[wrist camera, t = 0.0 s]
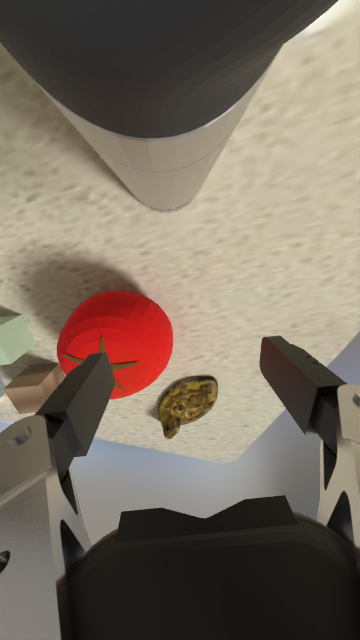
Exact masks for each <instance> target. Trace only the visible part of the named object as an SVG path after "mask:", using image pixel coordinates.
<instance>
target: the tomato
mask: <svg viewBox="0 0 360 640" xmlns="http://www.w3.org/2000/svg"><path fill="white" fill-rule="evenodd" d="M172 348H173V330H172V326H171V322H170V321H169V319H168V317H167V315H166V314H165V312H164V311H163V310H162V309H161V307H160V306H159V305H158V304H156V303H155V302H154V301H152V300H151V299H149V298H147V297H145V296H142V295H139V294H136V293H132V292H126V291H107V292H103V293H99V294H96V295H94V296H92V297H90V298H88V299H87V300H86V301H84V302H83V303H82V304H81V305H79V306H78V307H77V308H76V309H75V310H74V312H73V313H72V315H71V316H70V317H69V319H68V321H67V322H66V324H65V326H64V327H63V329H62V331H61V333H60V336H59V339H58V343H57V357H58V360H59V363H60V366H61V369H62V370H63V372H64V373H65V375H66V376H67V374H68V373H69V372H70V371H71V370H73V369H74V368H75V367H77V366H78V365H81V364H82V363H83V362H84V360H85V359H86V358H87V356H88V355H89V354H93V353H103V352H106V353H107V354H108V357H109V360H110V364H111V367H112V371H113V374H114V379H115V384H114V389H113V392H112V394H111V396H110V399H118V398H123V397H126V396H129V395H132V394H134V393H136V392H139V391H141V390H143V389H144V388H146V387H147V386H149V385H150V384H151V383H153V382H154V381H155V380H156V379H157V378H158V377H159V375H160V374H161V373H162V372H163V370H164V369H165V368H166V366H167V364H168V362H169V359H170V357H171V354H172Z"/></svg>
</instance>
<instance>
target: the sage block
mask: <svg viewBox="0 0 360 640" xmlns="http://www.w3.org/2000/svg"><path fill="white" fill-rule="evenodd" d="M35 345H36V342H35V340H34V338H33V336H32V334H31V332H30V330H29V328H28V325H27V323H26V321H25V319H24V317H23V315H12V316H2V317H0V365H6V364H12V363H13V362H14V361H15V360H17V359H18V358H19V357H21V356H22V355H23V354H24V353H26V352H27V351H28V350H30V349H31V348H32V347H33V346H35Z"/></svg>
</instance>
